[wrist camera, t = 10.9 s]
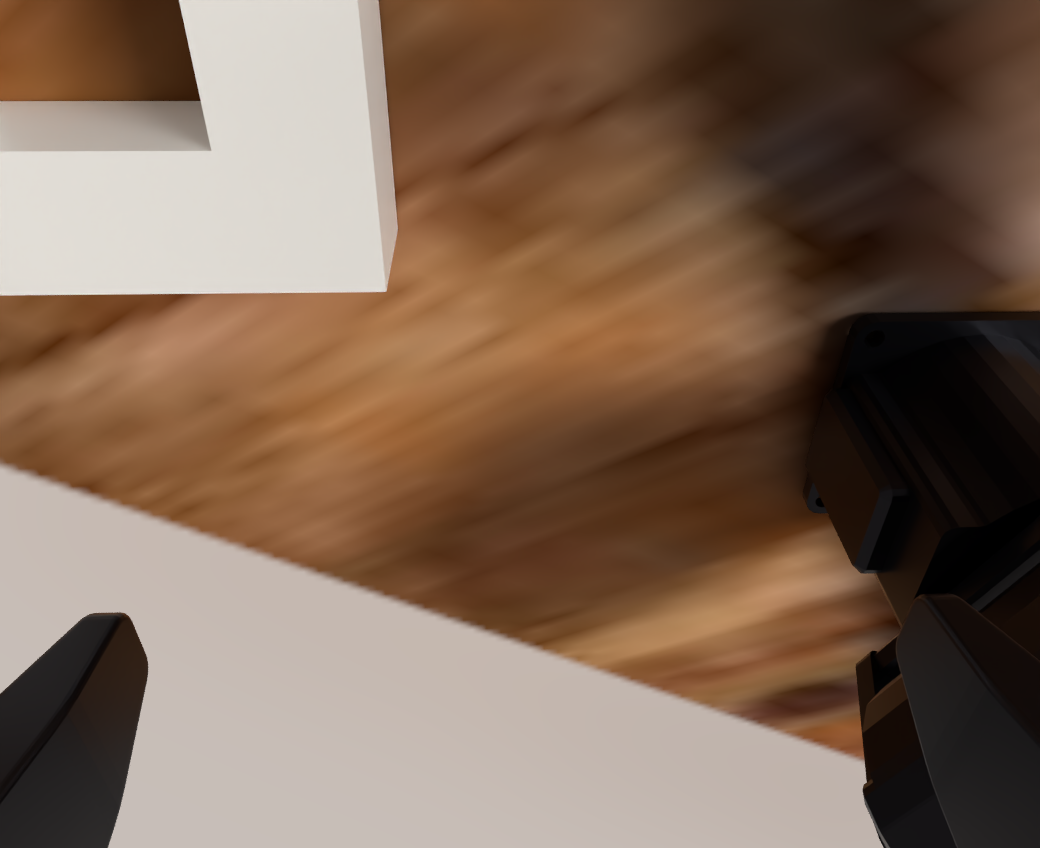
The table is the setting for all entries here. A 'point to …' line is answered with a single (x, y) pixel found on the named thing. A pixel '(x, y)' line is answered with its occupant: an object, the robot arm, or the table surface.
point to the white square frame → (214, 167)
